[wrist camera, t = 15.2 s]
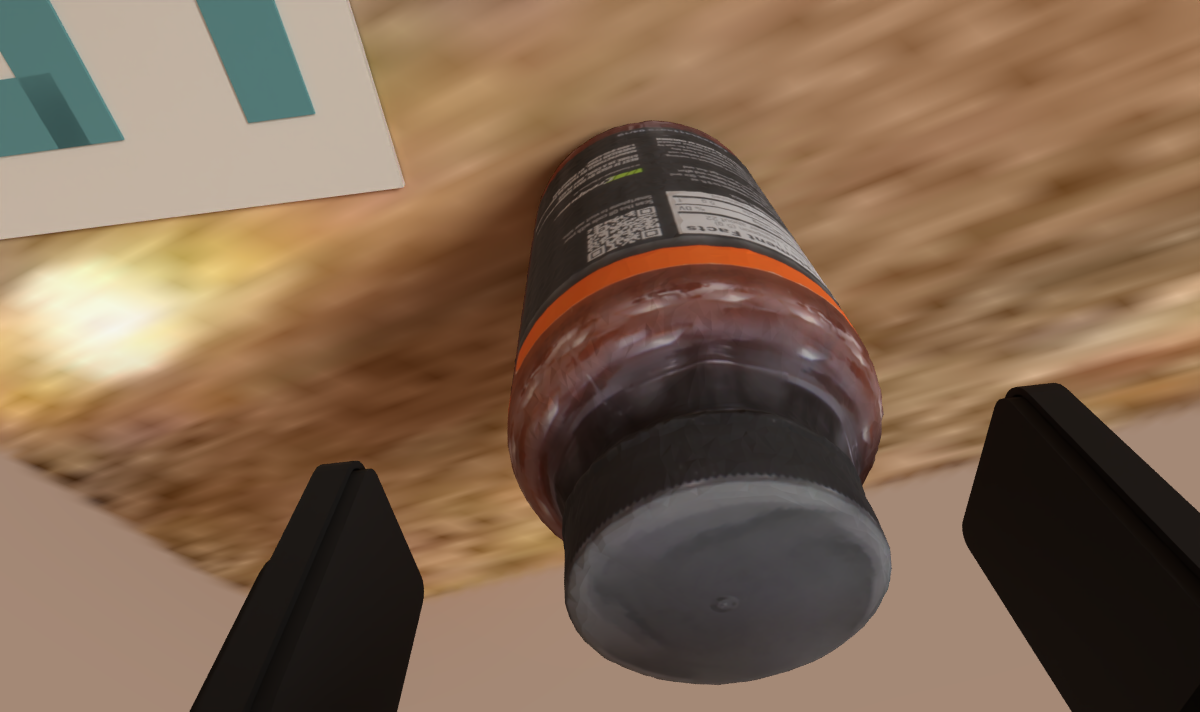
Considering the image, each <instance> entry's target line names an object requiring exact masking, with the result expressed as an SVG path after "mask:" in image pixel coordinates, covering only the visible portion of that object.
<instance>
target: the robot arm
mask: <svg viewBox="0 0 1200 712" xmlns="http://www.w3.org/2000/svg"><path fill="white" fill-rule="evenodd" d="M962 528H963V529H962V531H963V536H964V539H965V542H966V544H967V546H968V548H969V550H970V551H971V553H972V554H973V556H974V558H975V559H976V561H977V562H978V564H979V566H980V567H981V569H982V570H983V572H984V573H985V575H986V576H987V578H988V580H989V581H990V583H991V585H992V586H993V588H994V589H995V591H996V592H997V594H998V595H999V597H1000V599H1001V600H1002V602H1003V603H1004V605H1005V607H1006V608H1007V610H1008V611H1009V613H1010V615H1011V616H1012V618H1013V619H1014V621H1015V623H1016V624H1017V626H1018V627H1019V629H1020V630H1021V632H1022V634H1023V635H1024V637H1025V638H1026V640H1027V642H1028V643H1029V645H1030V646H1031V648H1032V649H1033V651H1034V653H1035V654H1036V656H1037V657H1038V659H1039V661H1040V662H1041V664H1042V665H1043V667H1044V668H1045V670H1046V672H1047V673H1048V675H1049V676H1050V678H1051V680H1052V681H1053V682H1054V684H1055V685H1056V687H1057V689H1058V691H1059V692H1060V694H1061V695H1062V697H1063V699H1064V700H1065V702H1066V703H1067V705H1068V706H1069V708H1070V710H1071V711H1072V712H1200V513H1199V512H1198V511H1197V510H1196V509H1195V508H1194V507H1193V506H1192V505H1191V504H1190V503H1189V502H1188V501H1186V500H1185V499H1184V498H1183V497H1182V496H1181V495H1180V494H1179V493H1178V492H1177V491H1176V490H1174V489H1173V487H1172V486H1170V485H1169V484H1168V483H1167V482H1166V481H1165V480H1164V479H1163V478H1162V477H1160V475H1159V474H1158V473H1157V472H1155V471H1154V470H1153V469H1152V468H1151V467H1150V466H1149V465H1148V464H1147V463H1146V462H1145V461H1144V460H1143V459H1141V458H1140V457H1139V456H1138V455H1137V454H1136V453H1135V452H1134V451H1133V450H1132V449H1131V448H1130V447H1129V446H1127V445H1126V444H1125V443H1124V442H1123V441H1122V440H1121V439H1120V438H1119V437H1118V436H1117V435H1116V434H1115V433H1114V432H1113V431H1112V430H1110V429H1109V428H1108V427H1107V426H1106V425H1105V424H1104V423H1103V422H1102V421H1101V420H1100V419H1099V418H1098V417H1097V416H1096V415H1094V414H1093V413H1092V412H1091V411H1090V410H1089V409H1088V408H1087V407H1086V406H1085V405H1084V404H1083V403H1082V402H1081V401H1079V400H1078V399H1077V398H1076V397H1075V396H1074V395H1073V394H1072V393H1071V392H1070V391H1069V390H1068V389H1067V388H1065V387H1064V386H1062V385H1061V384H1057V383H1048V384H1039V385H1030V386H1021V387H1015V388H1011V389H1010V390H1009V391H1008V392H1007V394H1006V397H1005V398H1003V399H1000V400H999V401H997V403H996V405H995V407H994V411H993V415H992V418H991V422H990V425H989V429H988V433H987V436H986V440H985V443H984V447H983V450H982V454H981V458H980V461H979V465H978V468H977V472H976V476H975V479H974V483H973V486H972V490H971V494H970V497H969V501H968V504H967V508H966V512H965V515H964V519H963V524H962ZM423 598H424V586H423V580H422V577H421V575H420V572H419V570H418V568H417V565H416V563H415V561H414V558H413V556H412V554H411V552H410V549H409V547H408V545H407V542H406V540H405V538H404V536H403V533H402V531H401V529H400V526H399V524H398V522H397V519H396V517H395V515H394V513H393V510H392V508H391V506H390V503H389V501H388V499H387V497H386V494H385V492H384V490H383V487H382V485H381V483H380V481H379V478H378V476H377V474H376V472H375V471H374V470H373V469H365V467H364V466H363V464H362V463H361V462H359V461H349V462H340V463H331V464H322V465H320V466H318V467H317V468H316V470H315V471H314V472H313V474H312V476H311V478H310V481H309V483H308V485H307V487H306V489H305V491H304V493H303V495H302V497H301V499H300V501H299V503H298V505H297V507H296V509H295V511H294V513H293V515H292V517H291V519H290V521H289V523H288V525H287V527H286V529H285V531H284V533H283V535H282V537H281V539H280V541H279V543H278V545H277V547H276V549H275V551H274V553H273V555H272V557H271V559H270V560H269V561H268V562H267V563H266V564H265V565H264V567H263V568H262V570H261V571H260V573H259V575H258V577H257V579H256V581H255V582H254V584H253V586H252V588H251V590H250V592H249V594H248V596H247V598H246V600H245V603H244V605H243V606H242V608H241V610H240V612H239V614H238V616H237V618H236V620H235V622H234V624H233V627H232V628H231V630H230V632H229V634H228V636H227V638H226V640H225V642H224V644H223V646H222V648H221V650H220V652H219V654H218V656H217V658H216V660H215V662H214V664H213V666H212V668H211V670H210V672H209V674H208V676H207V678H206V680H205V682H204V684H203V686H202V688H201V690H200V692H199V694H198V696H197V698H196V700H195V702H194V704H193V706H192V708H191V710H190V712H397V709H398V705H399V701H400V697H401V692H402V688H403V684H404V680H405V676H406V671H407V667H408V663H409V659H410V654H411V650H412V646H413V642H414V637H415V633H416V629H417V625H418V621H419V616H420V612H421V608H422V604H423Z"/></svg>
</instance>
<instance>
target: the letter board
mask: <svg viewBox="0 0 1200 712" xmlns="http://www.w3.org/2000/svg"><path fill="white" fill-rule="evenodd" d="M404 186H405V182H404V179H403V176H402V172H401V169H400V166H399V163H398V159H397V156H396V153H395V150H394V146H393V143H392V140H391V136H390V133H389V130H388V127H387V123H386V120H385V117H384V114H383V110H382V107H381V104H380V101H379V97H378V94H377V91H376V87H375V84H374V81H373V78H372V74H371V71H370V68H369V65H368V61H367V58H366V55H365V51H364V48H363V45H362V42H361V38H360V35H359V32H358V29H357V25H356V22H355V19H354V16H353V12H352V9H351V6H350V2H349V0H0V239H8V238H16V237H23V236H31V235H39V234H47V233H54V232H62V231H70V230H78V229H85V228H93V227H101V226H109V225H116V224H124V223H132V222H140V221H147V220H155V219H163V218H171V217H178V216H186V215H194V214H202V213H210V212H217V211H225V210H233V209H241V208H248V207H256V206H264V205H272V204H279V203H287V202H295V201H303V200H310V199H318V198H326V197H334V196H341V195H349V194H357V193H365V192H372V191H380V190H388V189H396V188H403V187H404Z"/></svg>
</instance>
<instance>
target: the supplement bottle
mask: <svg viewBox="0 0 1200 712" xmlns="http://www.w3.org/2000/svg"><path fill="white" fill-rule="evenodd" d="M882 417H883V407H882V395H881V389H880V387H879V384H878V380H877V376H876V372H875V369H874V366H873V363H872V361H871V360H870V358H869V354H868V351H867V350H866V348H865V346H864V344H863V342H862V341H861V339H860V337H859V335H858V334H857V332H856V330H855V329H854V328H853V326H852V325H851V323H850V322H849V320H848V319H847V317H846V316H845V314H844V313H843V312H842V310H841V308H840V306H839V304H838V302H837V301H836V300H835V298H834V297H833V295H832V294H831V292H830V291H829V290H828V288H827V287H826V285H825V284H824V282H823V281H822V279H821V278H820V276H819V275H818V273H817V272H816V270H815V269H814V267H813V266H812V264H811V263H810V262H809V260H808V259H807V257H806V256H805V254H804V253H803V251H802V250H801V248H800V247H799V245H798V244H797V242H796V240H795V239H794V238H793V236H792V235H791V233H790V232H789V231H788V229H787V228H786V226H785V225H784V223H783V222H782V220H781V219H780V217H779V216H778V214H777V213H776V211H775V210H774V208H773V207H772V205H771V204H770V203H769V201H768V199H767V198H766V196H765V195H764V194H763V192H762V191H761V189H760V188H759V186H758V185H757V183H756V182H755V180H754V179H753V177H752V176H751V174H750V173H749V171H748V170H747V168H746V167H745V166H744V165H743V164H742V163H741V161H740V160H739V159H738V158H737V157H736V156H735V155H734V154H733V153H732V152H731V151H730V150H729V149H728V148H726V147H725V146H724V145H723V144H721V143H720V142H719V141H718V140H716V139H714V138H713V137H711V136H709V135H708V134H706V133H704V132H702V131H699V130H697V129H694V128H691V127H688V126H684V125H681V124H676V123H672V122H664V121H644V122H640V123H633V124H627V125H623V126H620V127H615V128H612V129H610V130H608V131H606V132H603V133H601V134H599V135H596V136H595V137H593V138H592V139H590V140H589V141H587V142H586V143H584V144H583V145H581V146H580V147H578V148H577V149H576V150H574V151H573V152H572V153H571V154H570V156H568V157H567V158H566V159H565V160H564V161H563V162H562V163H561V164H560V166H559V167H558V168H557V170H556V171H555V173H554V174H553V176H552V177H551V179H550V181H549V183H548V185H547V187H546V189H545V191H544V193H543V195H542V197H541V201H540V204H539V207H538V211H537V216H536V222H535V229H534V236H533V241H532V247H531V255H530V262H529V269H528V275H527V283H526V289H525V296H524V304H523V310H522V316H521V326H520V331H519V338H518V347H517V355H516V359H515V369H514V375H513V382H512V387H511V396H510V403H509V409H508V448H509V453H510V458H511V463H512V468H513V472H514V474H515V477H516V479H517V482H518V484H519V487H520V489H521V491H522V492H523V494H524V496H525V498H526V500H527V501H528V503H529V504H530V506H531V507H532V509H533V510H534V511H535V513H536V514H537V515H538V516H539V518H540V519H541V521H542V522H543V523H544V524H545V525H546V526H547V527H548V528H549V529H550V530H551V531H552V532H553V533H554V534H555V535H556V536H558V537H559V538H560V539H562V540H563V543H564V550H565V572H564V585H565V586H564V587H565V604H566V608H567V611H568V614H569V617H570V619H571V621H572V623H573V624H574V627H575V628H576V630H577V632H578V633H579V634H580V636H581V637H582V638H583V640H584V641H585V642H586V643H588V644H589V645H590V646H591V647H592V648H593V649H595V650H596V651H597V652H598V653H599V654H600V655H601V656H603V657H604V658H606V659H607V660H609V661H612V662H614V663H617V664H618V665H620V666H622V667H625V668H627V669H630V670H632V671H635V672H638V673H640V674H643V675H646V676H651V677H654V678H656V679H661V680H667V681H673V682H683V683H691V684H712V685H713V684H714V685H721V684H729V683H737V682H746V681H752V680H757V679H761V678H765V677H769V676H772V675H776V674H779V673H783V672H787V671H790V670H793V669H795V668H798V667H800V666H803V665H806V664H808V663H811V662H813V661H815V660H817V659H819V658H822V657H823V656H825V655H827V654H828V653H830V652H832V651H833V650H835V649H836V648H838V647H839V646H840V645H842V644H843V643H844V642H846V641H847V640H848V639H850V638H851V637H852V636H853V635H855V634H856V633H857V632H858V631H859V630H860V629H861V628H863V627H864V626H865V624H866V623H867V622H868V621H869V619H870V618H871V617H872V616H873V615H874V613H875V612H876V610H877V609H878V607H879V605H880V603H881V601H882V599H883V597H884V595H885V593H886V592H887V590H888V586H889V582H890V575H891V569H892V568H891V556H890V555H891V554H890V547H889V545H888V542H887V540H886V537H885V535H884V532H883V530H882V529H881V526H880V524H879V521H878V519H877V517H876V515H875V513H874V511H873V509H872V507H871V505H870V504H869V502H868V500H867V499H866V497H865V493H864V490H863V487H862V485H863V483H864V481H865V479H866V477H867V475H868V473H869V471H870V470H871V468H872V466H873V464H874V461H875V455H876V453H877V451H878V445H879V443H880V438H881V420H882Z"/></svg>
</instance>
